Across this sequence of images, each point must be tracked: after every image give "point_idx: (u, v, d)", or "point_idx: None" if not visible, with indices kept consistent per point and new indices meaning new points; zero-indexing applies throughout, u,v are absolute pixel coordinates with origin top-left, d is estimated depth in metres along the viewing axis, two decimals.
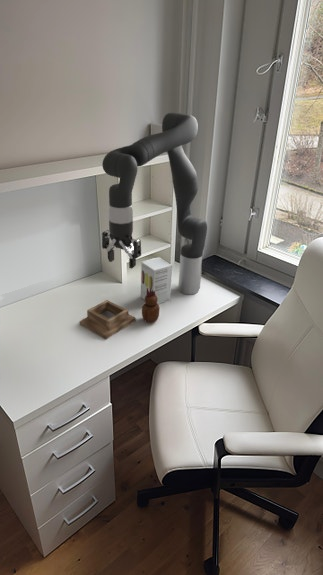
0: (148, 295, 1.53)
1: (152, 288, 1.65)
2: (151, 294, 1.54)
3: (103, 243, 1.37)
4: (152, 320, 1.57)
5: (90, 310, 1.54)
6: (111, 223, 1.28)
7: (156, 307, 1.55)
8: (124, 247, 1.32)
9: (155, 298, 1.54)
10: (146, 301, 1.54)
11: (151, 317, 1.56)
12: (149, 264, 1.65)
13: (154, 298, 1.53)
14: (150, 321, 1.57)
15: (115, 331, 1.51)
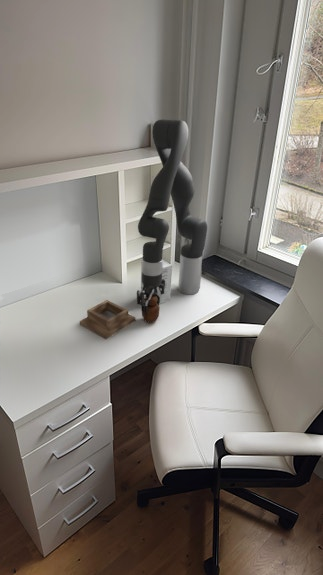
0: None
1: None
2: None
3: (143, 302, 1.49)
4: (152, 320, 1.57)
5: (90, 310, 1.54)
6: (158, 276, 1.47)
7: (156, 307, 1.55)
8: (158, 290, 1.54)
9: (155, 298, 1.54)
10: None
11: (151, 317, 1.56)
12: None
13: (154, 298, 1.53)
14: (150, 321, 1.57)
15: (115, 331, 1.51)
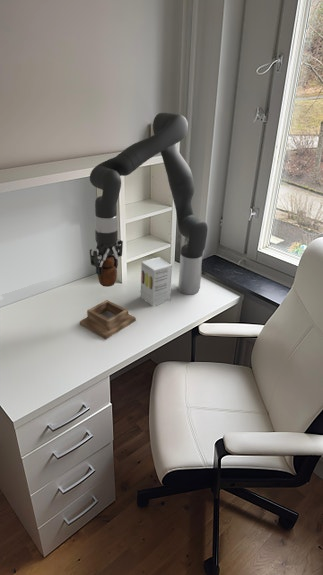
0: None
1: (152, 288, 1.65)
2: None
3: (96, 262, 1.39)
4: (109, 284, 1.46)
5: (90, 310, 1.54)
6: (112, 233, 1.36)
7: (112, 269, 1.44)
8: (115, 251, 1.43)
9: (111, 259, 1.43)
10: None
11: (108, 280, 1.45)
12: (149, 264, 1.65)
13: (110, 259, 1.43)
14: (107, 285, 1.46)
15: (115, 331, 1.51)
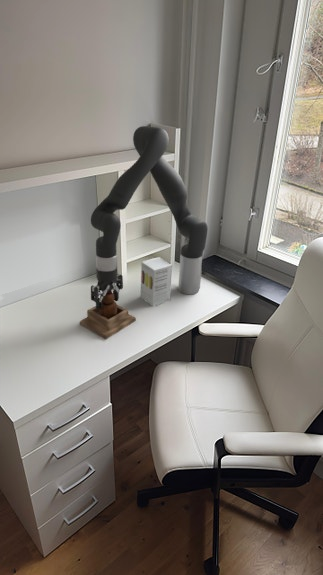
0: None
1: (152, 288, 1.65)
2: (107, 292, 1.50)
3: (96, 297, 1.45)
4: (109, 318, 1.54)
5: (90, 310, 1.54)
6: (112, 271, 1.43)
7: (112, 305, 1.52)
8: (115, 286, 1.51)
9: (111, 296, 1.50)
10: (102, 299, 1.50)
11: (108, 315, 1.52)
12: (149, 264, 1.65)
13: (110, 296, 1.50)
14: None
15: (115, 331, 1.51)
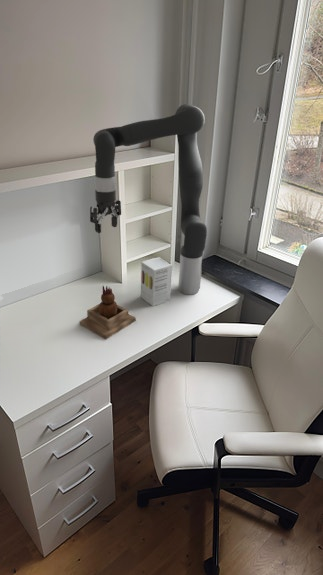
0: (104, 293, 1.50)
1: (152, 288, 1.65)
2: (107, 292, 1.51)
3: (95, 218, 1.51)
4: (109, 318, 1.54)
5: (90, 310, 1.54)
6: (110, 193, 1.49)
7: (113, 305, 1.52)
8: (113, 210, 1.57)
9: (112, 296, 1.50)
10: (102, 299, 1.50)
11: (108, 315, 1.53)
12: (149, 264, 1.65)
13: (110, 296, 1.50)
14: None
15: (115, 331, 1.51)
